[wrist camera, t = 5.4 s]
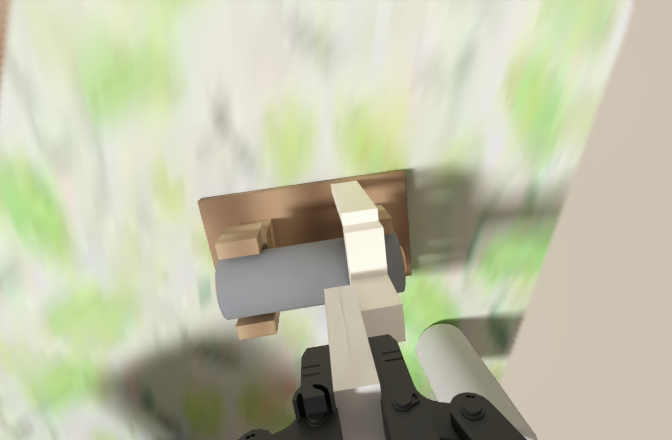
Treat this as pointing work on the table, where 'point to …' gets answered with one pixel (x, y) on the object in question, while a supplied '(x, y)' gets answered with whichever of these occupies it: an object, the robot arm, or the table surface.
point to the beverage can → (463, 372)
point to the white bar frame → (368, 261)
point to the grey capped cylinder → (292, 276)
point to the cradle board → (295, 224)
